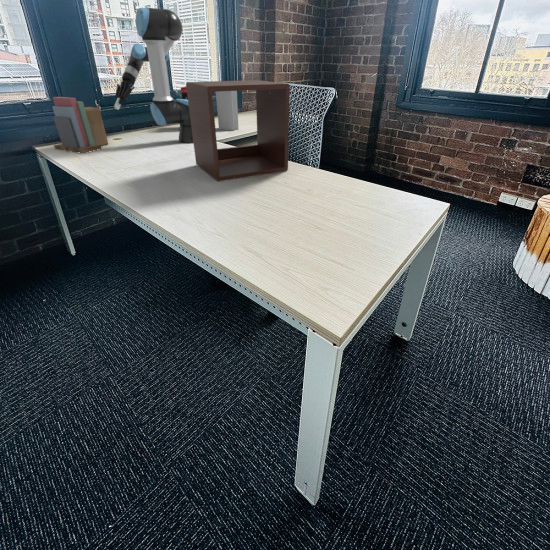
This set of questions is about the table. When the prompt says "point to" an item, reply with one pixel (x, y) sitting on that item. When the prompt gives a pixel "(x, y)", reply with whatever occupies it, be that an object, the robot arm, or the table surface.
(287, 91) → the storage cube
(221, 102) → the grey upright pillar
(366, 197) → the table surface
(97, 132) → the wooden block
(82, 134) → the row of books
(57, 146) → the walnut shelf board
